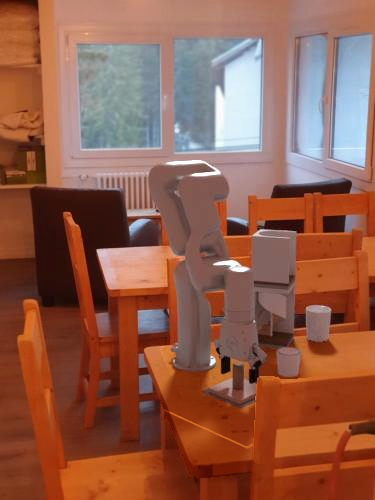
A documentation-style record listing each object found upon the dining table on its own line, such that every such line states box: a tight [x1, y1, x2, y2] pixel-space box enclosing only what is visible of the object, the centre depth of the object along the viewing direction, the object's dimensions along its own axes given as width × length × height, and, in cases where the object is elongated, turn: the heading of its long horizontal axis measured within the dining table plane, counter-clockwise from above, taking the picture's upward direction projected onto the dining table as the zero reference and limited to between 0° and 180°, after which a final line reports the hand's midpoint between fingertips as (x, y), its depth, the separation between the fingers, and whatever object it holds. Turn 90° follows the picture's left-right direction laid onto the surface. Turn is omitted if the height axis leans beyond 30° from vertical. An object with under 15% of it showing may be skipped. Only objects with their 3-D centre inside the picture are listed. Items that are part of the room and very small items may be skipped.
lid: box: [208, 362, 257, 404], centre depth 185 cm, size 11×11×8 cm
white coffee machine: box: [250, 228, 297, 350], centre depth 218 cm, size 11×11×35 cm
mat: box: [200, 387, 256, 409], centre depth 186 cm, size 14×14×1 cm
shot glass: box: [275, 346, 302, 378], centre depth 196 cm, size 7×7×7 cm
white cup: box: [305, 304, 332, 343], centre depth 224 cm, size 8×8×10 cm
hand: (239, 377), depth 184 cm, fingers open, 9 cm apart
